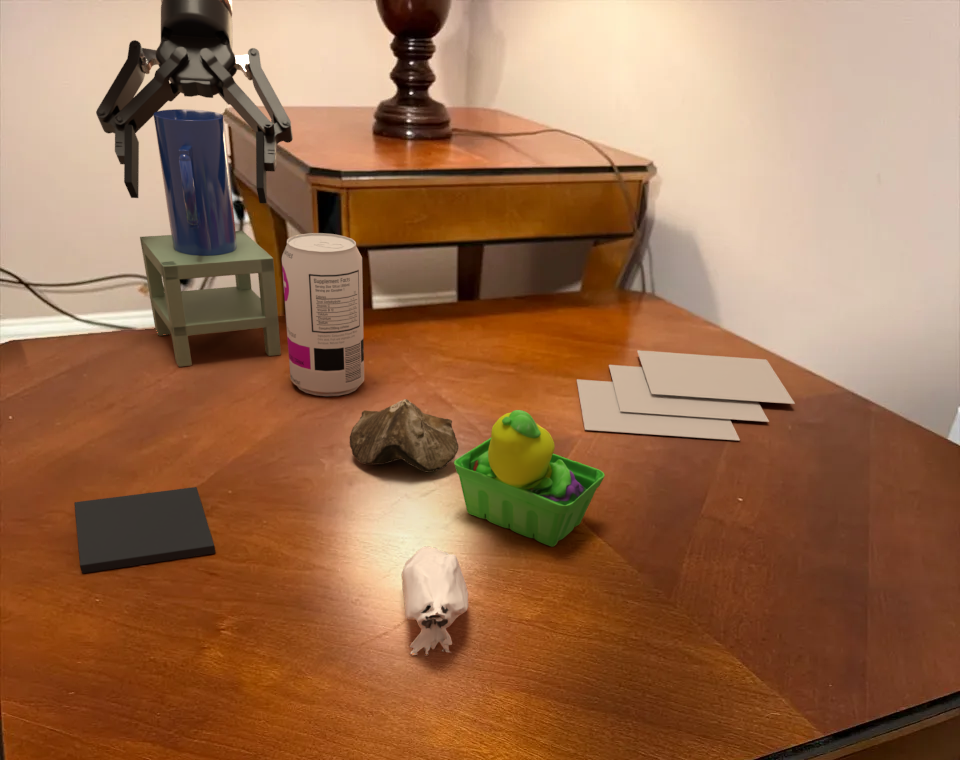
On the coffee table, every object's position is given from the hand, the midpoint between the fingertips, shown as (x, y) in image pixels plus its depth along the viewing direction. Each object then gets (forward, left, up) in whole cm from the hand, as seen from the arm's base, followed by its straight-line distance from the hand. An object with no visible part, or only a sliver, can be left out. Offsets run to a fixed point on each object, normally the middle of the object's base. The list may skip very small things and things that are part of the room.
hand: (197, 193), depth 93 cm
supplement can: (+17, +1, -17) cm, 24 cm away
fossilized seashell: (+35, -8, -17) cm, 40 cm away
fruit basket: (+50, -10, -17) cm, 54 cm away
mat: (+27, -32, -17) cm, 45 cm away
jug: (0, 0, -6) cm, 6 cm away
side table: (-1, +1, -17) cm, 17 cm away
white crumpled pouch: (+52, -26, -17) cm, 60 cm away
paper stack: (+49, +27, -17) cm, 58 cm away
